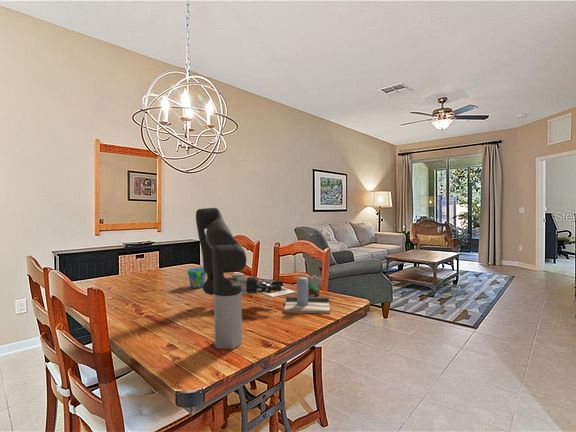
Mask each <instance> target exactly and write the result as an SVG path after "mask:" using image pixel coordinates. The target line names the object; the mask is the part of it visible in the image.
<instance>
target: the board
mask: <svg viewBox="0 0 576 432" xmlns="http://www.w3.org/2000/svg"><path fill="white" fill-rule="evenodd" d="M329 297H330V296H318V297H308V305H307V306H298V305H297V296H286V297H285V299H286V300H285V305H284V307H283V313H285V314H286V313H289V314H331V309H330V298H329Z"/></svg>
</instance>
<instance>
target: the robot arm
mask: <svg viewBox="0 0 576 432" xmlns="http://www.w3.org/2000/svg"><path fill="white" fill-rule="evenodd" d="M195 223H196V229H197V230H196V231H197V235H198V241H199V244H200V249H201V255H202V264H203V265H202V266H203V267H202V268H204V272H205V273H206V276H207V278H206V280H205V282H204V284H203V287H202V290H203V292H204V293H205V294H207V295H210V296H213V328H214V329H213V331H214V332H213V334H214V346H215V349H219V350H221V349H224V350H230V349H231V350H234V349H235V348H236V347H239V346H240V345H242V343H243V308H242V306H243V301H242V300H243V298H242V295H243V294H244V295H245V294H247V295H249V294H250V295H252V294H253V295H257V294H258V293H261V292H264V293H267V294H270V293H271V292H272V293H273V292H280V291H282V288H281V287H284V281H282V280H275V279H274V278H273V279H261V281H259V278H258V277H257V276H254V277H253V276H243V277H240V278H232V277H225V275H224V274H227V273H239V272H240V271H243V270H244V269H245V268H246V265H247V255H246V252H245V251H246V250H245V249H244V247H243V245H242V244H241V243H240V242H239V241H238V240H237V239H236V237H234V236H233V234H232V231H231V230H230V228H229V227H228V225H227V224H226V222H225V220H224V218H223V216H222V212H221V210H220V209H218V208H216V207H208V208H199V209H197V210H196V212H195ZM205 230H206V231H205Z"/></svg>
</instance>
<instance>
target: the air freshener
mask: <svg viewBox="0 0 576 432" xmlns="http://www.w3.org/2000/svg"><path fill="white" fill-rule="evenodd" d="M240 277H244V276H243V273H242V272H232V273H231V278H240Z"/></svg>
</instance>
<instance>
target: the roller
mask: <svg viewBox="0 0 576 432" xmlns="http://www.w3.org/2000/svg"><path fill="white" fill-rule="evenodd" d="M296 297H297V305H298V306H307V305H308V277H307V276H306V277H305V276H299V277H297V278H296Z"/></svg>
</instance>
